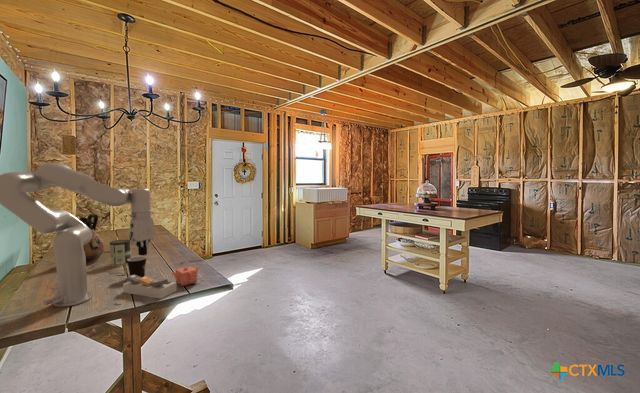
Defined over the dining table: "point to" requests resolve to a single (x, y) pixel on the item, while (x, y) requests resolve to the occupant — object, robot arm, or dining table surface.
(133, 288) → the power strip
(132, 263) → the coffee mug
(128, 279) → the rocker
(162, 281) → the rocker
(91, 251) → the ceramic jug
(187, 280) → the teapot
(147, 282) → the rocker
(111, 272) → the dining table surface
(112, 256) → the coffee can
